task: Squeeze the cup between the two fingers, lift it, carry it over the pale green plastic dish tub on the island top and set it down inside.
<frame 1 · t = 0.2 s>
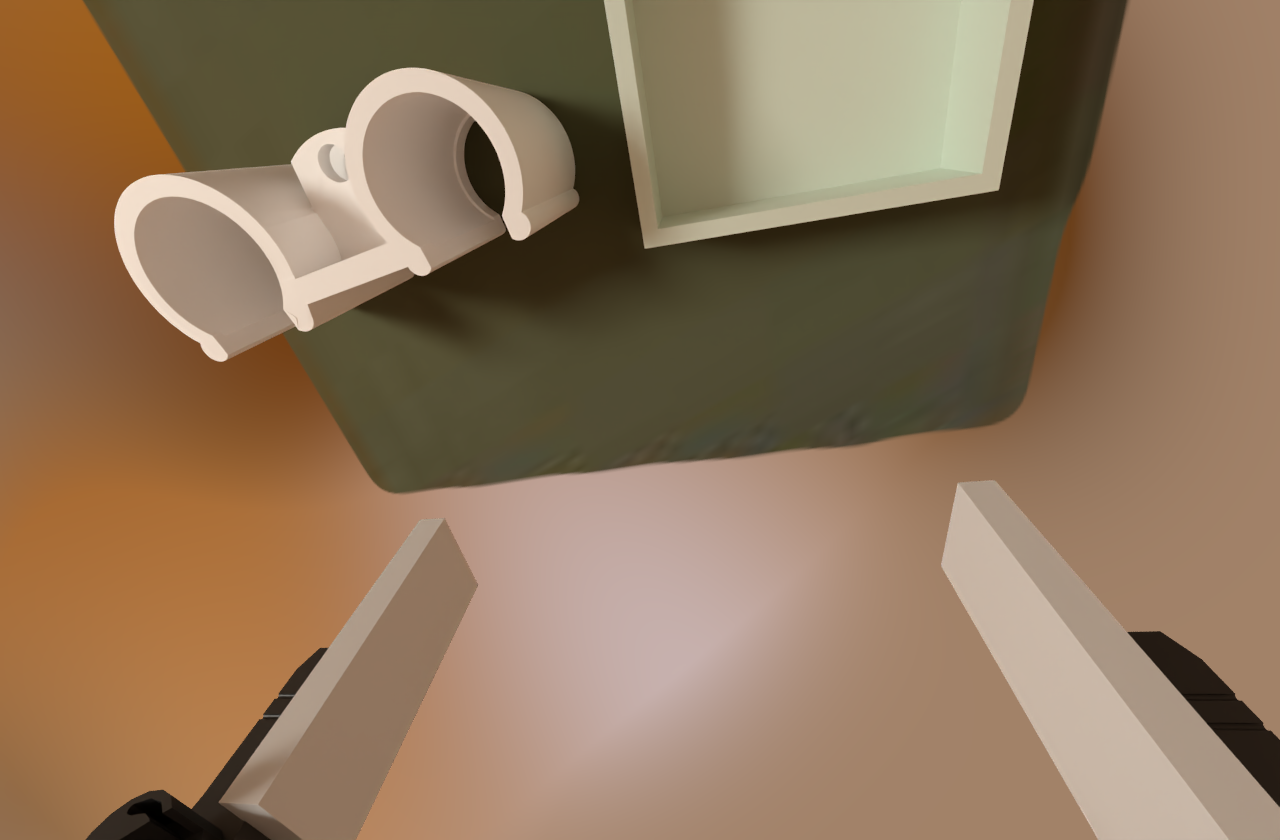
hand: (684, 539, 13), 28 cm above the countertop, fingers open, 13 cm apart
tub: (790, 48, 29), on the countertop
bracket: (419, 200, 36), on the countertop
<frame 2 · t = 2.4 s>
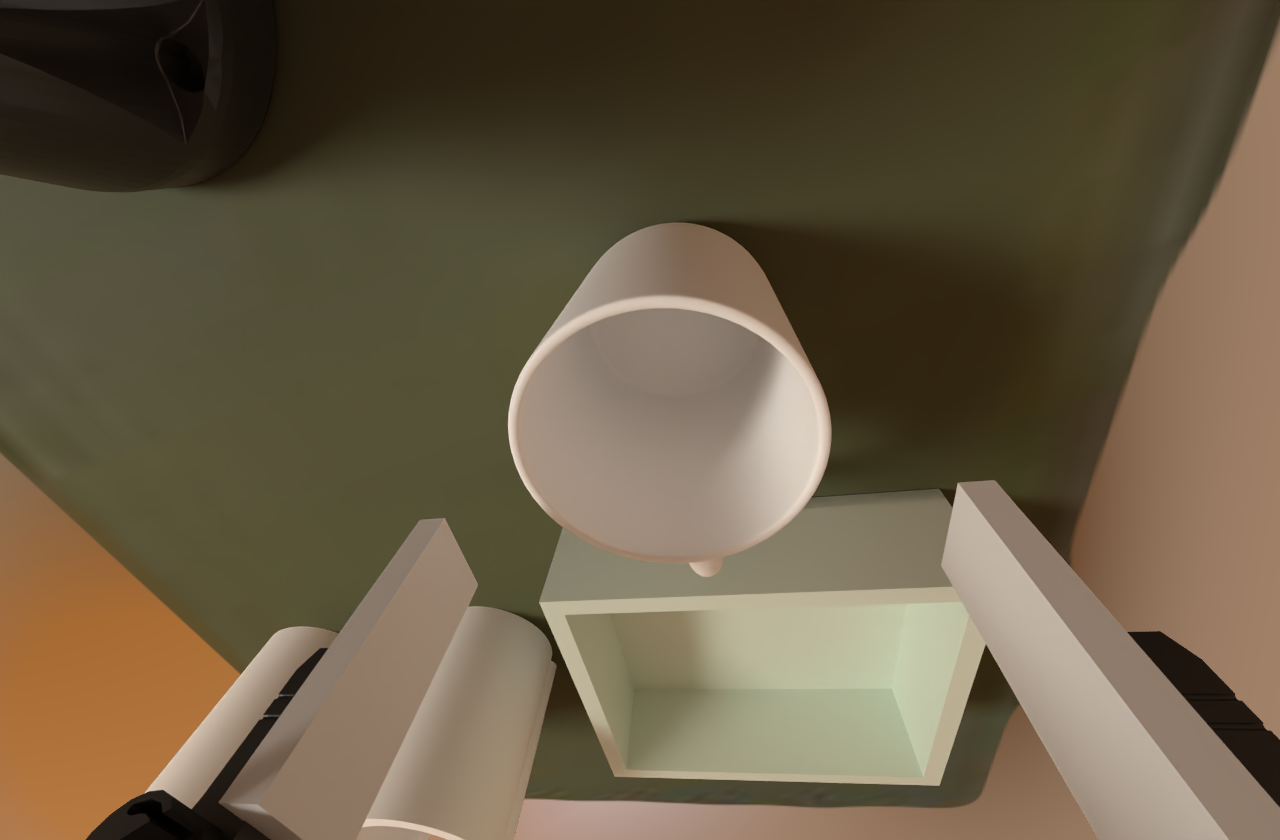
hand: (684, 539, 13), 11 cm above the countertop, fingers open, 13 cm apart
tub: (750, 607, 30), on the countertop
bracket: (405, 650, 37), on the countertop
cup: (684, 355, 22), on the countertop
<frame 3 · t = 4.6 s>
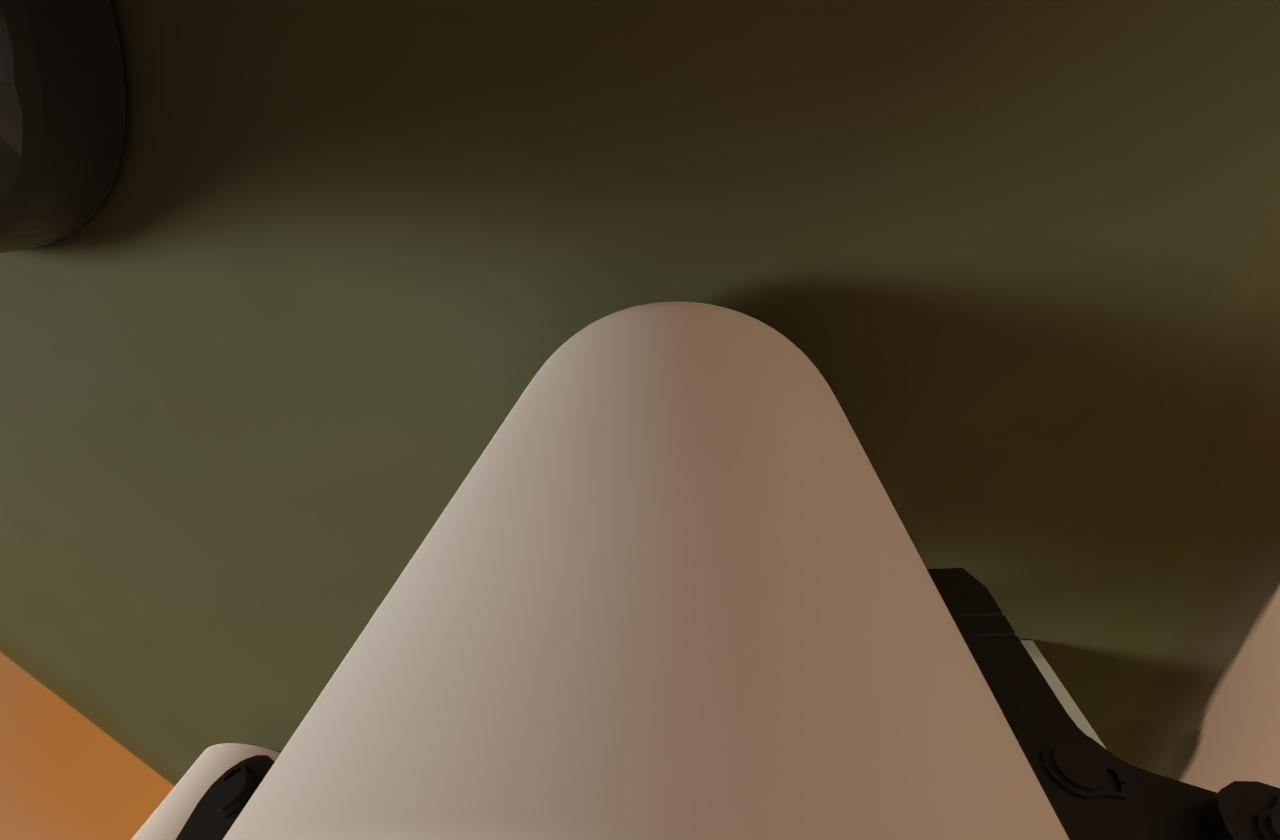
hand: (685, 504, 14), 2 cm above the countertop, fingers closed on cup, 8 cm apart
tub: (774, 755, 24), on the countertop
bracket: (359, 772, 32), on the countertop
cup: (690, 488, 14), point 2 cm above the countertop, touching gripper
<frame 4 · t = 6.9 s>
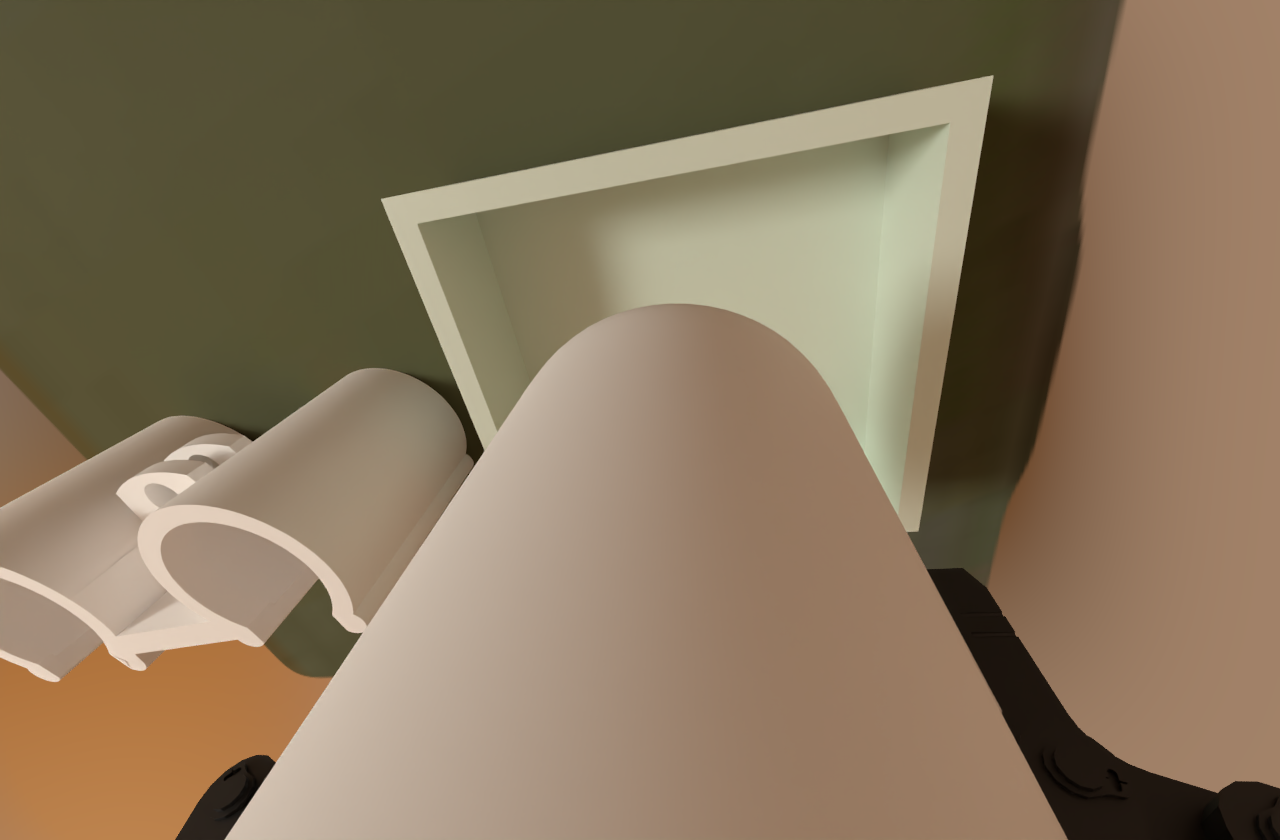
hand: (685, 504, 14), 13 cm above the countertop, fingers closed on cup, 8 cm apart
tub: (688, 336, 25), on the countertop
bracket: (301, 451, 32), on the countertop
cup: (690, 490, 14), point 13 cm above the countertop, touching gripper
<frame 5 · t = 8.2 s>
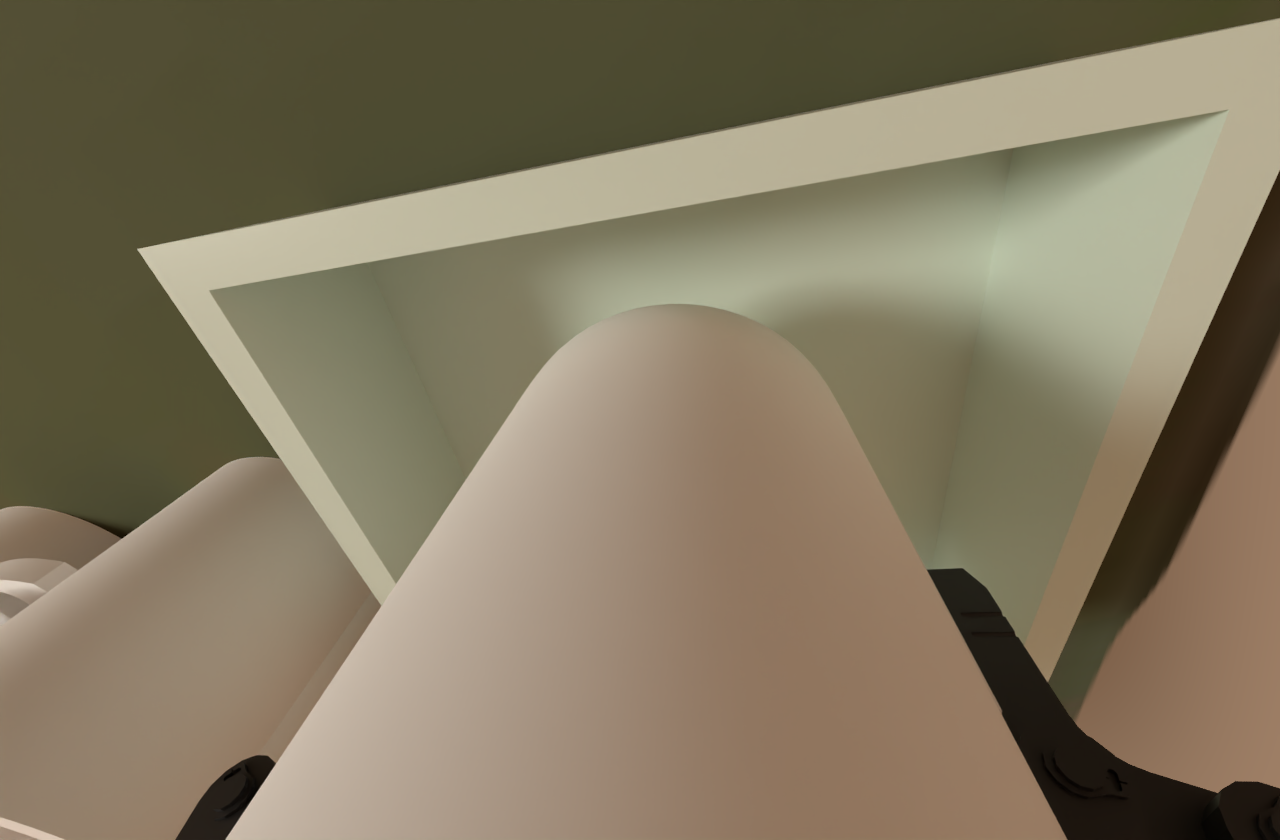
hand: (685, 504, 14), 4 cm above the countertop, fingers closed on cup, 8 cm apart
tub: (685, 421, 17), on the countertop
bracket: (185, 548, 25), on the countertop
cup: (690, 491, 14), point 4 cm above the countertop, touching gripper
when the fingers open (3 cm above the countertop, at t = 9.1 s): cup drops 2 cm, resting on tub.
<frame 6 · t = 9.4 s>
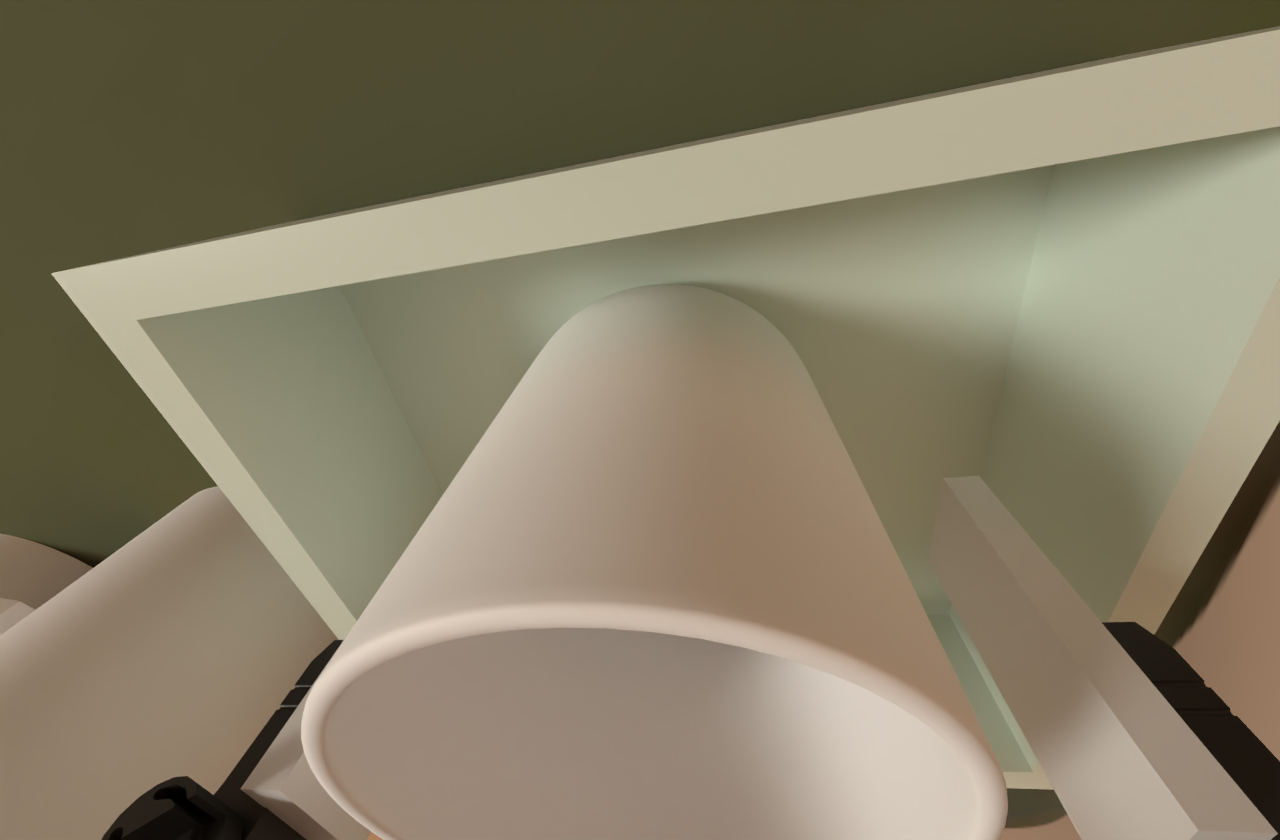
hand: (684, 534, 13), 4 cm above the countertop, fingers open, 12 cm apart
tub: (686, 449, 16), on the countertop
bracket: (159, 576, 24), on the countertop
cup: (680, 456, 16), point 1 cm above the countertop, touching tub
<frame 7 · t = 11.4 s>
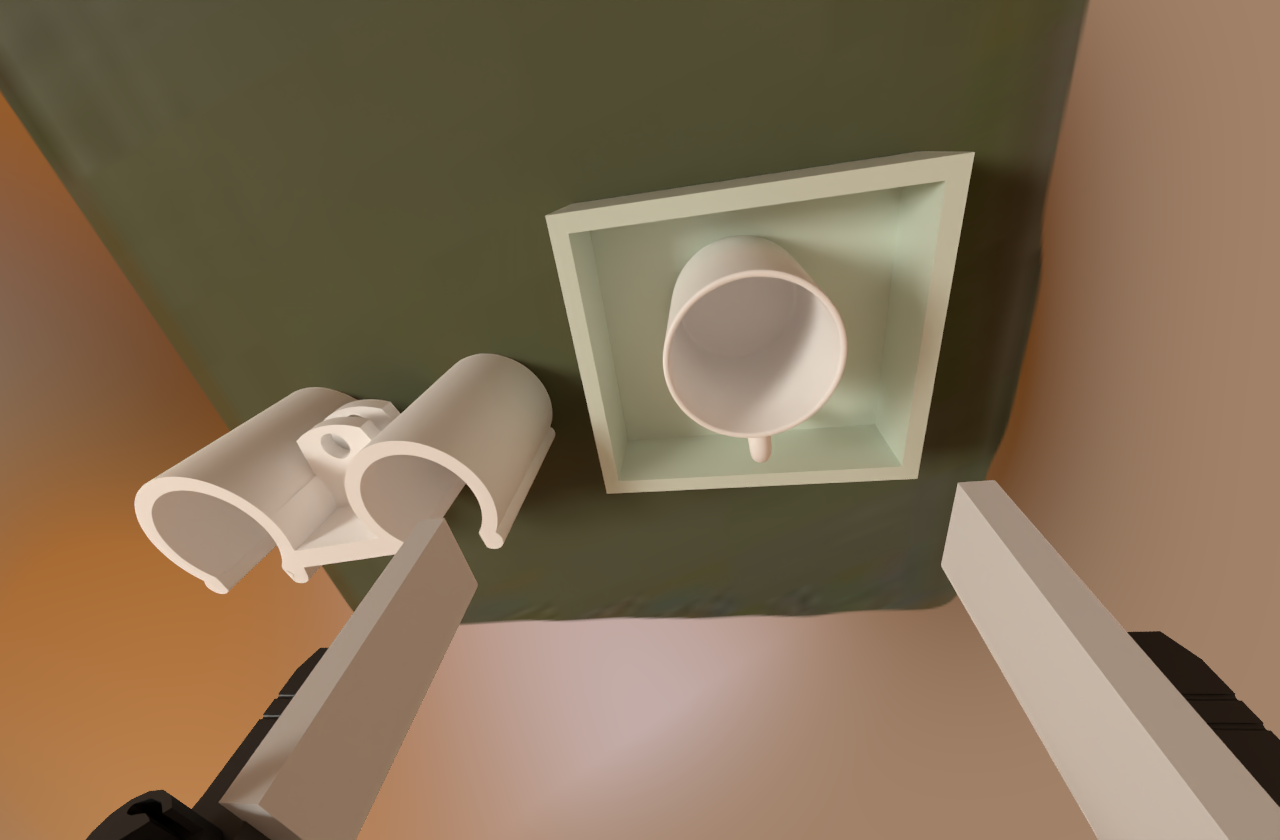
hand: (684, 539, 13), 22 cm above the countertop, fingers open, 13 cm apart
tub: (741, 326, 32), on the countertop
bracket: (411, 420, 39), on the countertop
cup: (739, 327, 31), point 1 cm above the countertop, touching tub
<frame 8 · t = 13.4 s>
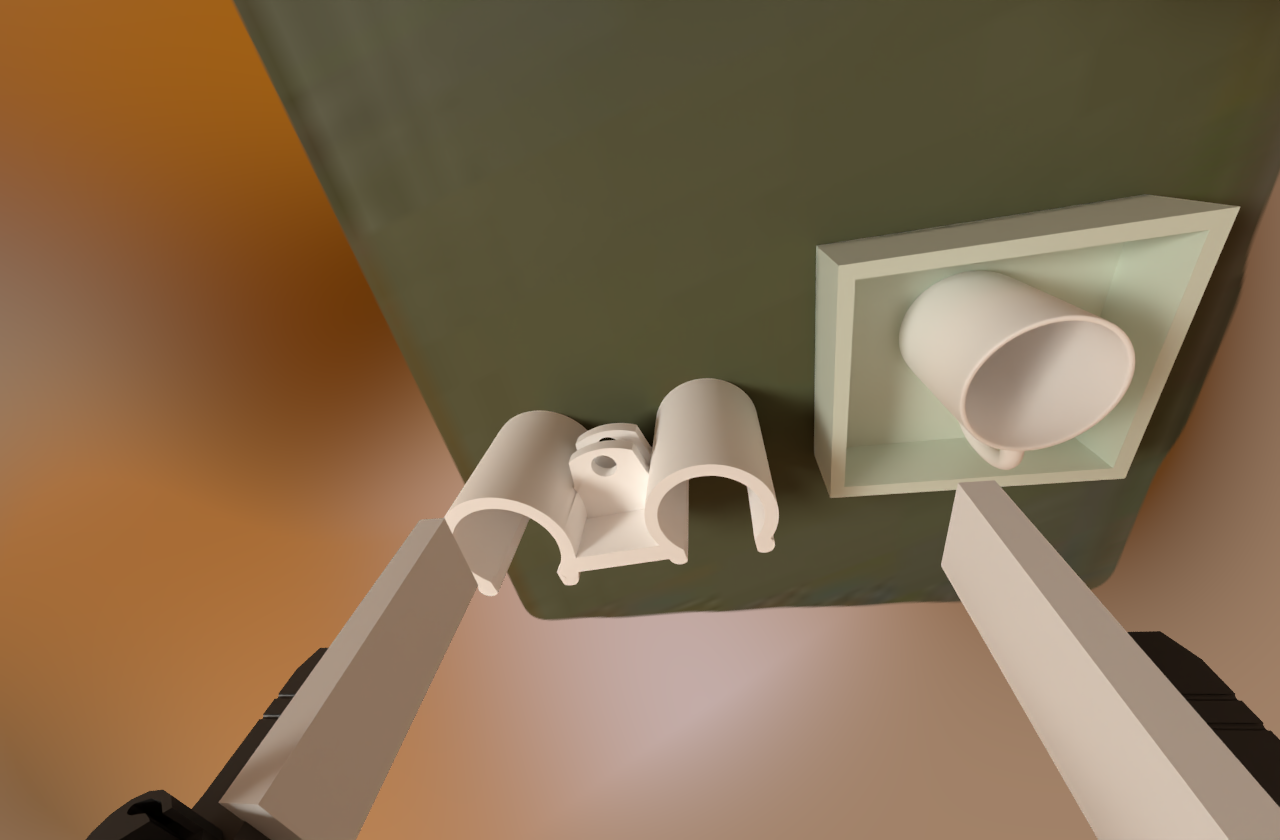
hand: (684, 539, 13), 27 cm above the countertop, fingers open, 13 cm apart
tub: (951, 346, 36), on the countertop
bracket: (620, 437, 44), on the countertop
cup: (953, 347, 35), point 1 cm above the countertop, touching tub
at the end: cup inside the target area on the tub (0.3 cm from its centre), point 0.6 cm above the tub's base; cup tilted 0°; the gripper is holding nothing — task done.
